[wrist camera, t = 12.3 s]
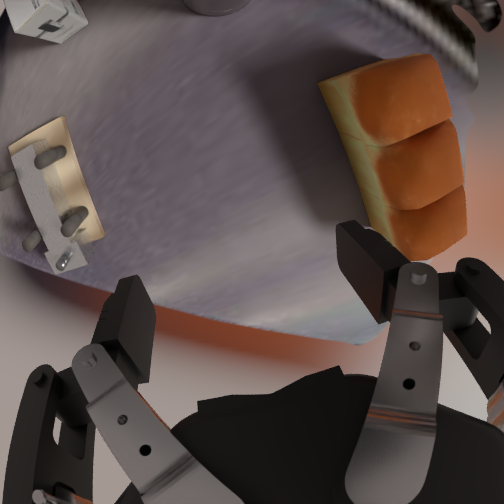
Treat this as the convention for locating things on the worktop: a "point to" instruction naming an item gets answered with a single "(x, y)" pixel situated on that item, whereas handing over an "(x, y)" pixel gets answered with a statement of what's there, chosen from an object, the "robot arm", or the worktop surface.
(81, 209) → the rack
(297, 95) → the worktop surface
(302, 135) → the worktop surface
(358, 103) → the bread
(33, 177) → the grey pegged bar
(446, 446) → the robot arm
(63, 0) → the ink box
